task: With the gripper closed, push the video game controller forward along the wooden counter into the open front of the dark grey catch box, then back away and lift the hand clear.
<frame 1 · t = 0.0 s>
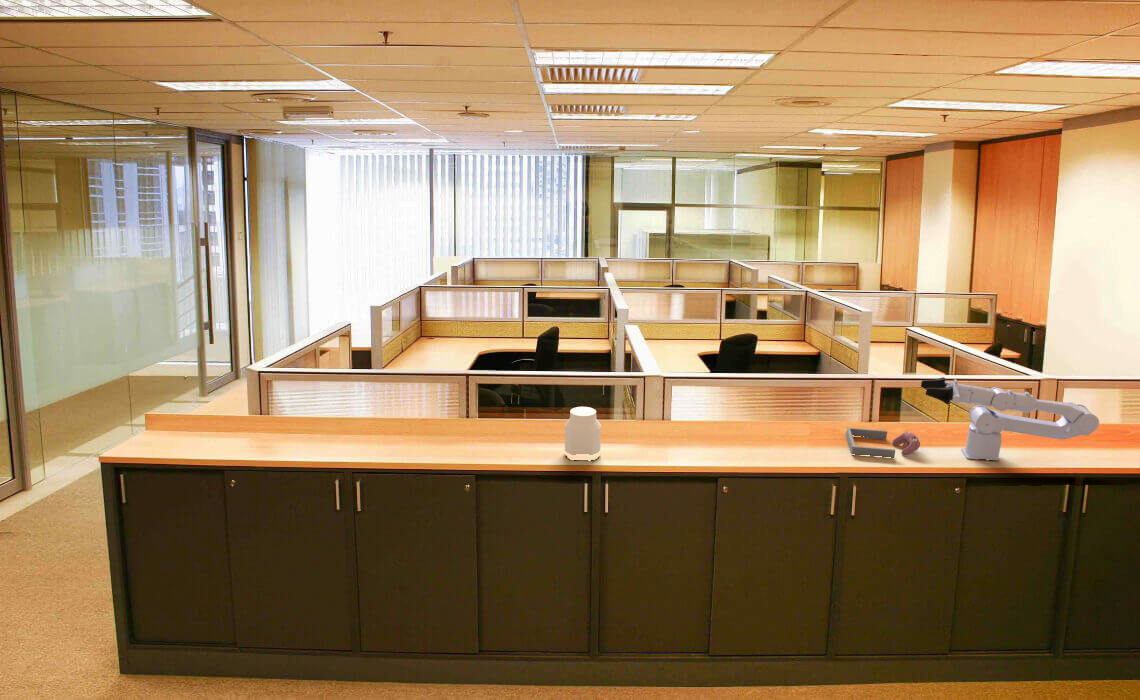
hand: (923, 387, 262), 22 cm above the table, tool horizontal, fingers open, 7 cm apart
jar: (582, 455, 261), on the table
video game controller: (905, 451, 268), on the table
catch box: (869, 446, 270), on the table
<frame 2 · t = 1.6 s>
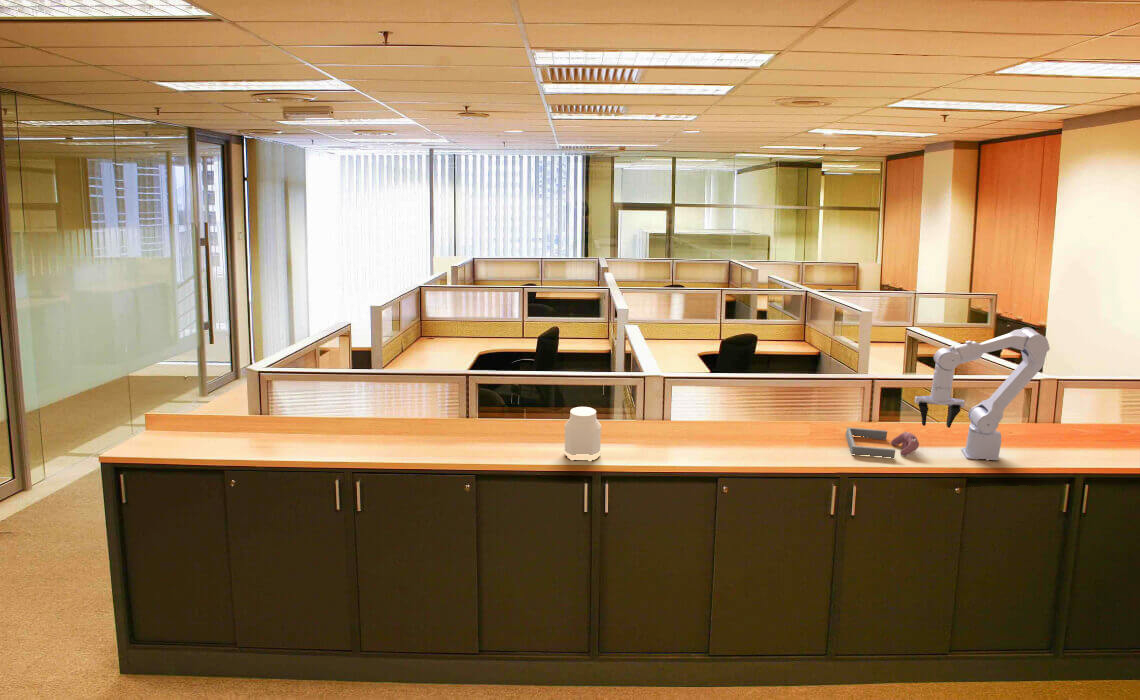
hand: (935, 425, 263), 9 cm above the table, tool pointing down, fingers open, 7 cm apart
nothing on the table moved.
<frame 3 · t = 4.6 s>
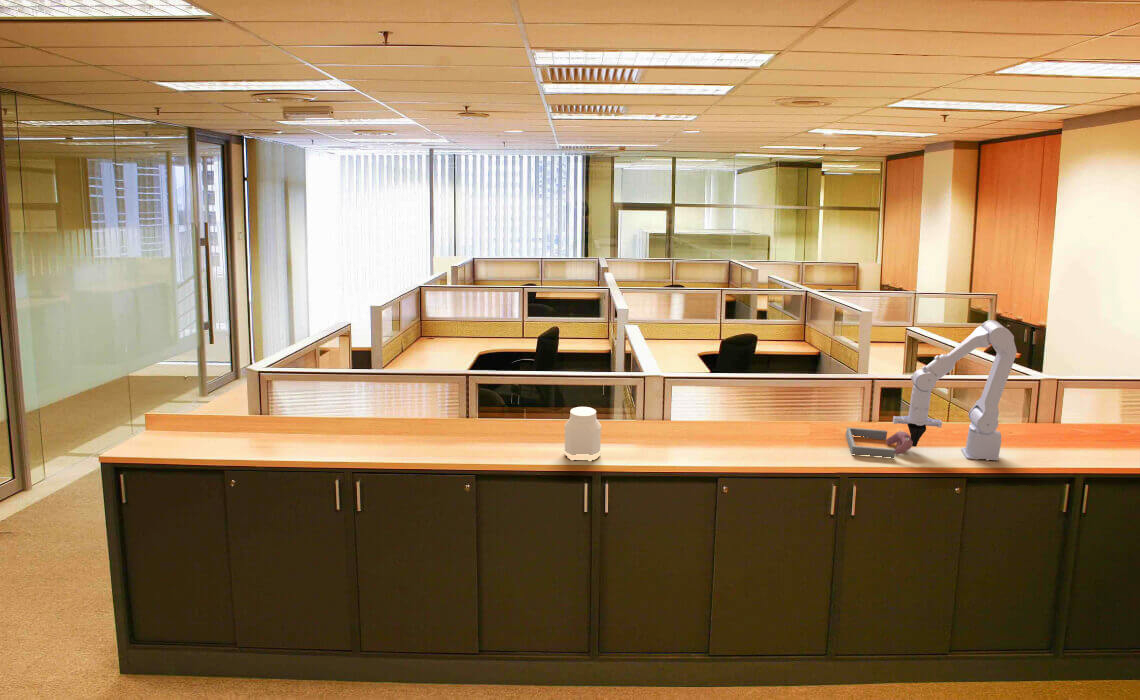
hand: (913, 445, 267), 2 cm above the table, tool pointing down, fingers closed
video game controller: (898, 450, 268), on the table, touching gripper
everything else where it was.
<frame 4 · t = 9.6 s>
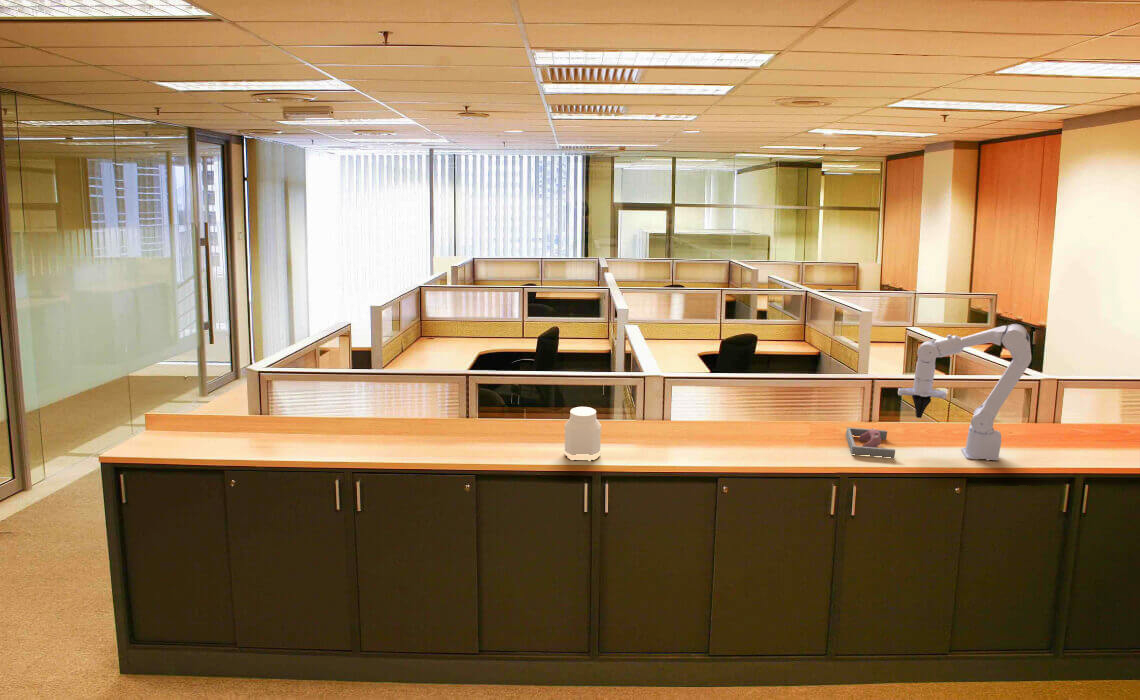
hand: (918, 416, 271), 9 cm above the table, tool pointing down, fingers closed
video game controller: (869, 447, 270), on the table
everything else where it was.
at the end: video game controller inside the target area (0.6 cm from its centre), on the table; video game controller tilted 0° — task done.
